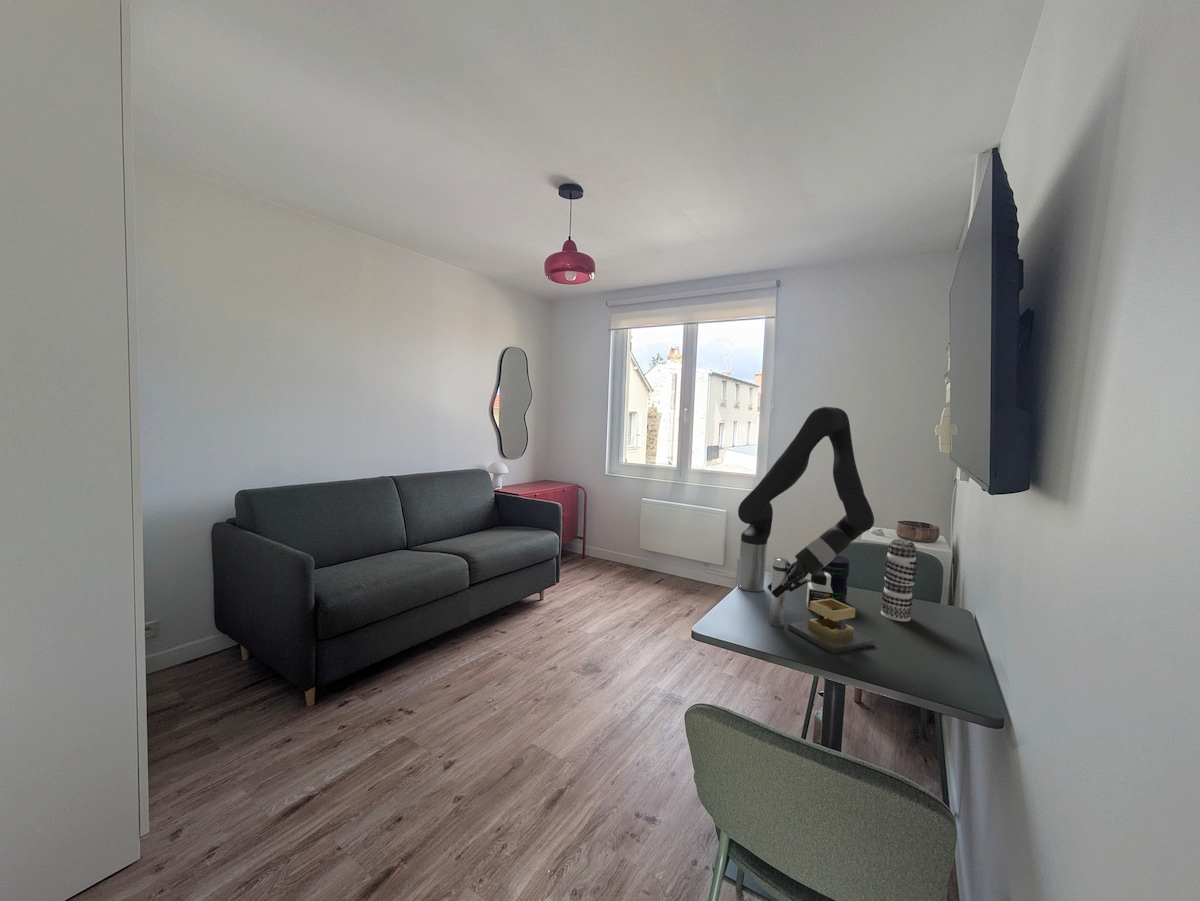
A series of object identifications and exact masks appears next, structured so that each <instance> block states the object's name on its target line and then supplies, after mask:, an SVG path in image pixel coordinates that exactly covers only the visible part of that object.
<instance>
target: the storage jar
mask: <svg viewBox="0 0 1200 901" xmlns="http://www.w3.org/2000/svg"><path fill="white" fill-rule="evenodd" d="M820 571H823V572H826V573H828V574H830V575H831V584H830V586H831V589H832V591H833V598H832V599H834V600H836V601H839V602H841V603H843V604H845V605H847V604H846V603H847V595H848V587H847V583H848V577H849V574H850V573H849V572H850V559H849V558H846V557H844V556H841V555H837V556H836V557H835V558H834V559H833V560H832V561H831V562H830V563H829V564H827V565H826V566H825V567H824V568H822V569H821V570H820Z"/></svg>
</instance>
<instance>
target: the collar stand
mask: <svg viewBox="0 0 1200 901" xmlns="http://www.w3.org/2000/svg"><path fill="white" fill-rule="evenodd" d="M829 608H832V609H829ZM809 610H810V611H812V612H814V613H816V618H809V619H808V620H803V621H796V622H793V623H792V622H791V623H788V624H787V625H788V626H787V629H788V630H789V631H791V632H792V633H795V634H796V635H798V636H801V637H802V638H804V639H805V640H807V641H809V642H811V643H813V644H814V645H816V646H817V647H820V649H823V650H824V651H826V652H828V653H830V654H832V655H833V654H838V653H843V652H848V651H853V650H858V649H864V648H868V647H872V646H873V647H874V646H875V639H873V638H870V637H869V636H867V635H865V634H862V633H860V632H858V631H856V630H855V627H854V626H852V625H849V624H847V620H848V619H854V618H856V608H855V607H853V606H849V605H847V604H843V603H841V602H839V601H836V600H834V599H832V598H829V599H822V600H815V601H810V609H809Z"/></svg>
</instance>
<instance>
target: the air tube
mask: <svg viewBox="0 0 1200 901" xmlns="http://www.w3.org/2000/svg"><path fill="white" fill-rule="evenodd" d="M788 562H789V560H788V558H785V557H774V558H773V564H772V576H771V577H772V579H771V583H772V589H771V591H770V603H769V617H768V624H769V625H771V626H773V627H777V628H779V627H783V625H784V613H785V600H786V591H785V592H784V593H782V594H781V595H780V596H779V597H777V598H776V597H775V596H774V595H773V594H772V591H773V590H774V589H775V588H776V587H778V586H779V585H780V584H782V583H783V581H784V580H785V579H786V578H785V577H786V576H787V570H788Z"/></svg>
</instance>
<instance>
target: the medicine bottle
mask: <svg viewBox="0 0 1200 901" xmlns="http://www.w3.org/2000/svg"><path fill="white" fill-rule="evenodd" d="M810 575H811V574H810ZM830 584H831V575H830V574H828V573H826V572H823V571H819V572H818V573H816V574H815V575H811V576H810V582H808V581H807V590H806V606H807V609H808V610H810V601H815V600H822V599H829V598H833V591H832V589H831V586H830ZM829 609H831V610H833V609H832V608H829Z"/></svg>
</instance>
